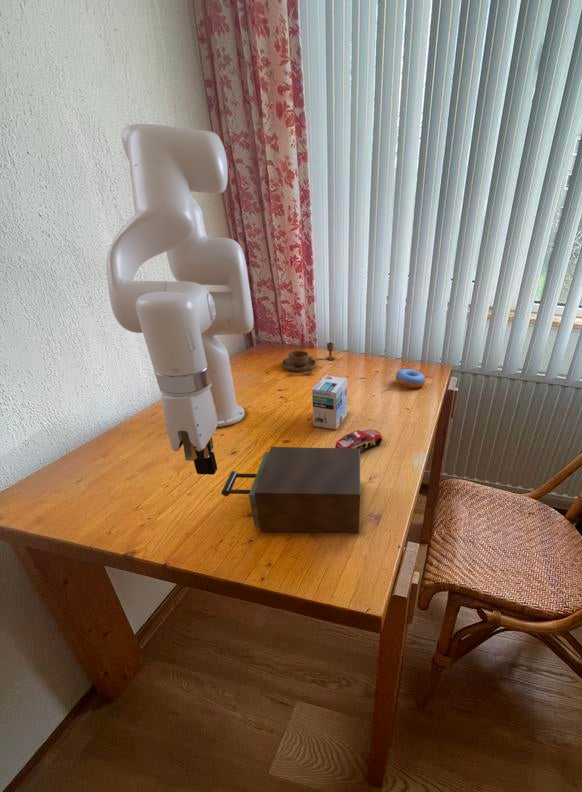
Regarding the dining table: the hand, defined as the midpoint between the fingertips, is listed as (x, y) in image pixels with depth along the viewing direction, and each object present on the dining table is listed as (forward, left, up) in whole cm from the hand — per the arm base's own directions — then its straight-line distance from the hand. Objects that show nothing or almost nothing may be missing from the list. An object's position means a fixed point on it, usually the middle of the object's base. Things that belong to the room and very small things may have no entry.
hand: (207, 471), depth 71 cm
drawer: (+14, 0, -7) cm, 16 cm away
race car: (+28, +23, -8) cm, 37 cm away
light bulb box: (+20, +37, -8) cm, 43 cm away
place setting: (+10, +78, -8) cm, 79 cm away
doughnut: (+45, +64, -8) cm, 79 cm away
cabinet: (+19, 0, -8) cm, 21 cm away
